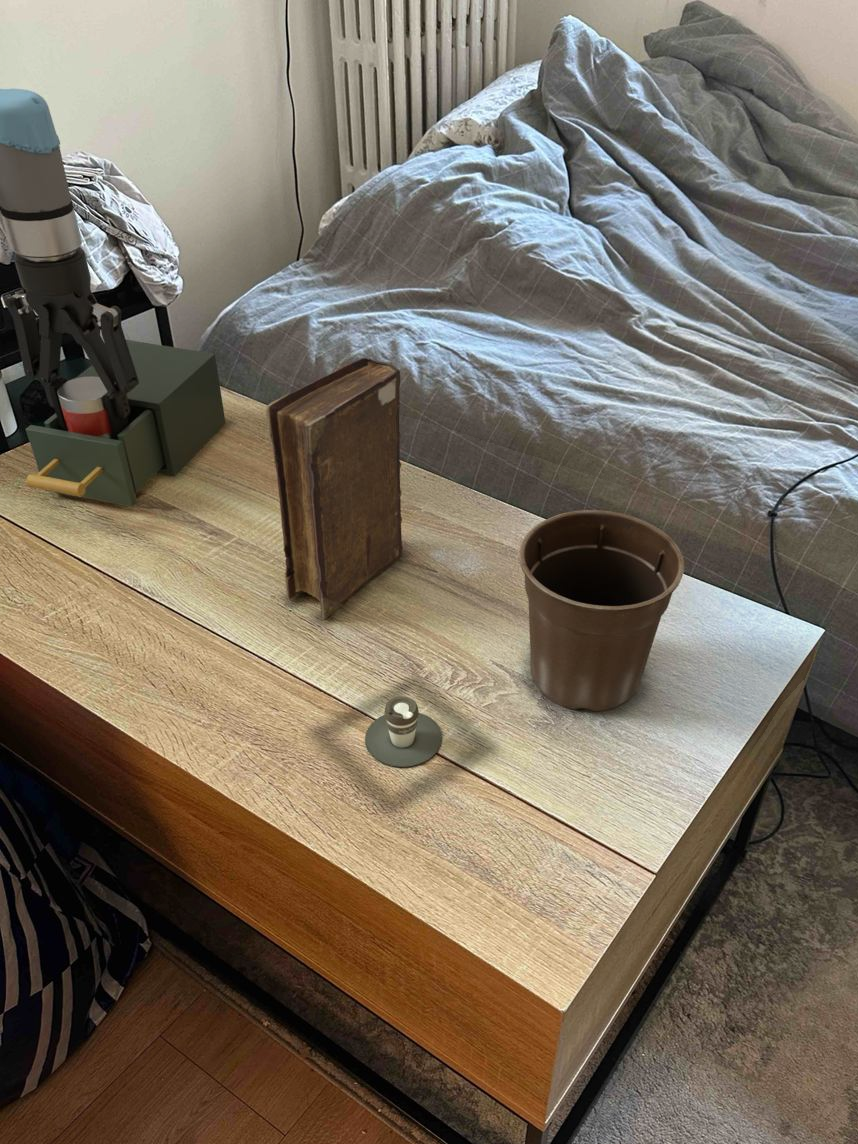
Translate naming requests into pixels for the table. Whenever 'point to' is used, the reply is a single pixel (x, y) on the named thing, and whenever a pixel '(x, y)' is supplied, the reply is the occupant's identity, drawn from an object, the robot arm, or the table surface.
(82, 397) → the tin can
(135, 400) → the cabinet
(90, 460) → the drawer
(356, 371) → the book
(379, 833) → the table surface
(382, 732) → the coffee cup
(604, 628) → the plant pot
